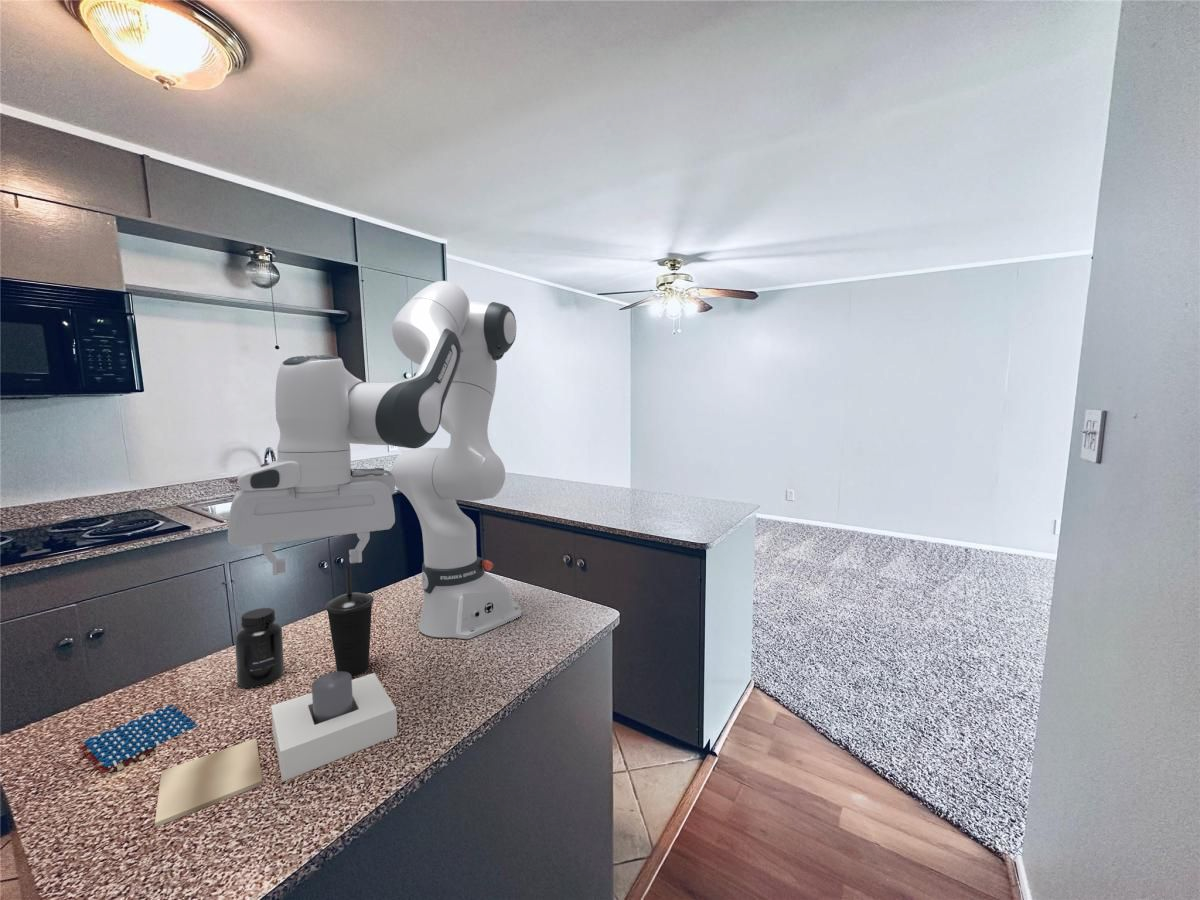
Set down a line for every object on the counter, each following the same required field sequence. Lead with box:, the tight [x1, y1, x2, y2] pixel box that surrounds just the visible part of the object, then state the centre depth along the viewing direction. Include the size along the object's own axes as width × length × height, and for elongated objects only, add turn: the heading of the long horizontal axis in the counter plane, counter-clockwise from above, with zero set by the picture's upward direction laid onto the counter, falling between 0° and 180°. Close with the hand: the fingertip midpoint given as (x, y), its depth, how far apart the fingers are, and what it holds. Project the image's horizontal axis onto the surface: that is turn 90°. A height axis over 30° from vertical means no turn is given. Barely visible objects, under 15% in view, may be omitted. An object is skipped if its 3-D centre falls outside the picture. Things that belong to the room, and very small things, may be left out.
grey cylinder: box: [311, 671, 353, 725], centre depth 70 cm, size 5×5×8 cm
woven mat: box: [79, 703, 198, 778], centre depth 70 cm, size 10×11×2 cm
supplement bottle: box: [234, 607, 285, 689], centre depth 86 cm, size 7×7×12 cm
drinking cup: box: [324, 565, 375, 678], centre depth 87 cm, size 8×8×20 cm
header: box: [270, 672, 398, 782], centre depth 71 cm, size 14×12×5 cm
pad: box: [154, 737, 263, 828], centre depth 62 cm, size 10×10×2 cm
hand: (318, 567), depth 69 cm, fingers open, 8 cm apart
